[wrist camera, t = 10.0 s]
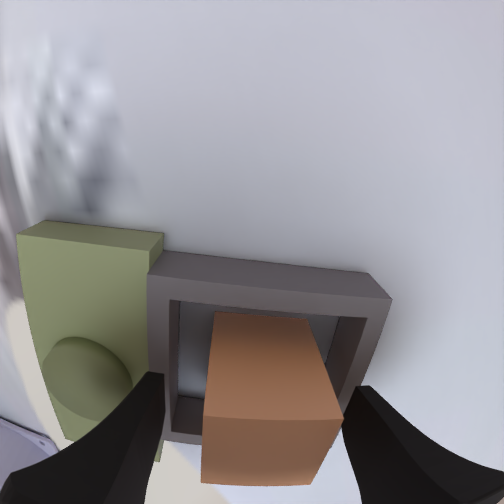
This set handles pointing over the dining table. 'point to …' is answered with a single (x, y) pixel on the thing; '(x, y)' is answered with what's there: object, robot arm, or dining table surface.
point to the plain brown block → (266, 403)
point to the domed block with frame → (165, 316)
